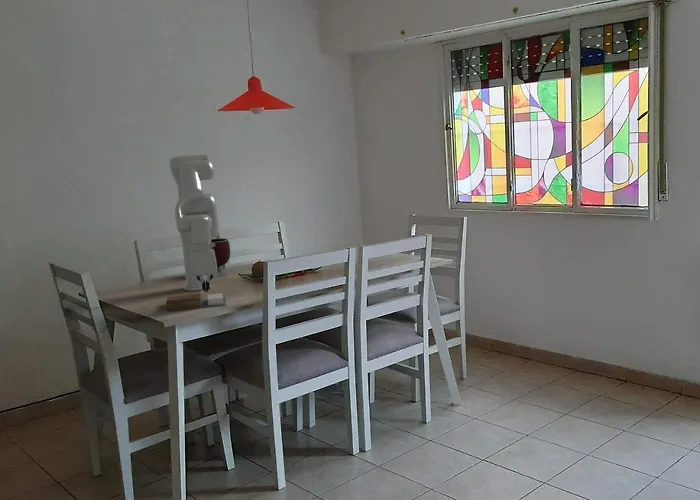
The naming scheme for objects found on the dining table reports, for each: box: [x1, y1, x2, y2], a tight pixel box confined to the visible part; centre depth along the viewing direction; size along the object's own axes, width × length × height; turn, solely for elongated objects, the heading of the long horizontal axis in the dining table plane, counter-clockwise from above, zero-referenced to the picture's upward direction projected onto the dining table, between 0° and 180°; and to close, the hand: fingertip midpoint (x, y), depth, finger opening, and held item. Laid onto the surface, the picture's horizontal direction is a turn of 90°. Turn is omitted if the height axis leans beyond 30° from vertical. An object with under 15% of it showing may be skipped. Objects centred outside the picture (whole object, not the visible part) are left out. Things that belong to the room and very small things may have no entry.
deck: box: [165, 290, 202, 312], centre depth 277 cm, size 14×13×4 cm
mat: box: [200, 297, 227, 309], centre depth 280 cm, size 14×10×1 cm
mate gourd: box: [210, 237, 231, 277], centre depth 343 cm, size 16×14×20 cm
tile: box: [207, 293, 224, 305], centre depth 280 cm, size 9×6×2 cm, turn 12°
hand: (206, 291), depth 279 cm, fingers closed
